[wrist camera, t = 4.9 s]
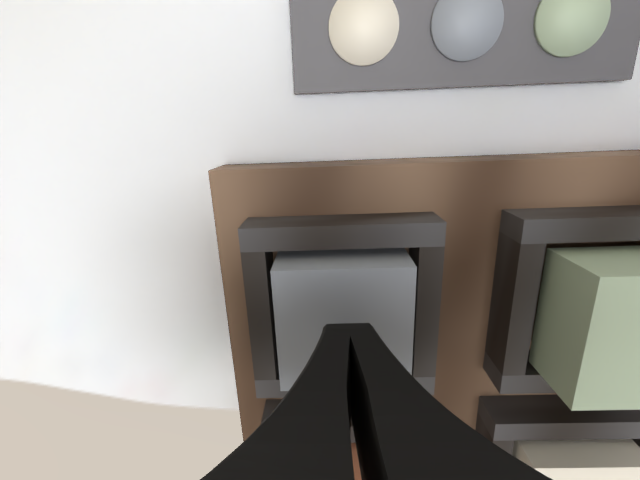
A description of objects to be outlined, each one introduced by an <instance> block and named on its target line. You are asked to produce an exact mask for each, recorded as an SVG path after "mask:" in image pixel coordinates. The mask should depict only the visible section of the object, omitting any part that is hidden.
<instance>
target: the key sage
mask: <svg viewBox="0 0 640 480" xmlns="http://www.w3.org/2000/svg"><path fill="white" fill-rule="evenodd" d="M529 362H530V363H531V365H532V366H533V367H534V368H535V369H536V370H537V372H538V373H539V374H540V375H541V376H542V377H543V378H544V380H545V381H546V382H547V383H548V384H549V385H550V387H551V388H552V389H553V390H554V391H555V392H556V394H557V395H558V396H559V397H560V398H561V399H562V400H563V402H564V403H565V404H566V405H567V406H568V407H569V409H570V410H571V411H585V410H640V245H638V246H603V247H568V248H547V252H546V258H545V264H544V270H543V277H542V283H541V289H540V295H539V301H538V307H537V313H536V319H535V325H534V331H533V337H532V343H531V349H530V356H529Z"/></svg>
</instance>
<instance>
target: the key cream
mask: <svg viewBox="0 0 640 480" xmlns="http://www.w3.org/2000/svg"><path fill="white" fill-rule="evenodd" d="M512 456H514V457H516V458H517V459H519V460H521V461H522V462H524V463H525V464H527V465H529V466H530V467H532V468H534V469H535V470H537V471H539V472H540V473H542V474H544V475H545V476H547V477H549V478H551V479H553V480H640V447H639V446H638V445H637V444H636V443H635V442H634V441H633V440H632V439H589V440H517V441H514V446H513V452H512Z"/></svg>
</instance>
